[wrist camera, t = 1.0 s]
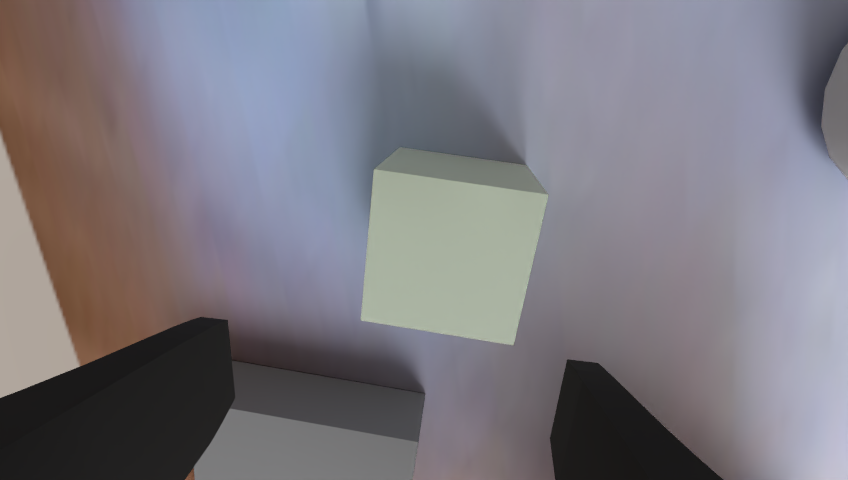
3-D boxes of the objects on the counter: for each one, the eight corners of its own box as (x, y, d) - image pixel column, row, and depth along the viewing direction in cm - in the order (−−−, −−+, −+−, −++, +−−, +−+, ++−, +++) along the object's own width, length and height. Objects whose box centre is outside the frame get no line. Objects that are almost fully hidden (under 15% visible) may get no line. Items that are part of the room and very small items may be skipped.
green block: (526, 164, 17) (548, 194, 12) (502, 280, 18) (513, 345, 14) (399, 146, 17) (374, 169, 12) (387, 262, 19) (360, 320, 14)
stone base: (425, 393, 21) (418, 442, 18) (403, 536, 24) (394, 595, 21) (225, 359, 21) (188, 401, 18) (231, 504, 25) (201, 557, 22)
